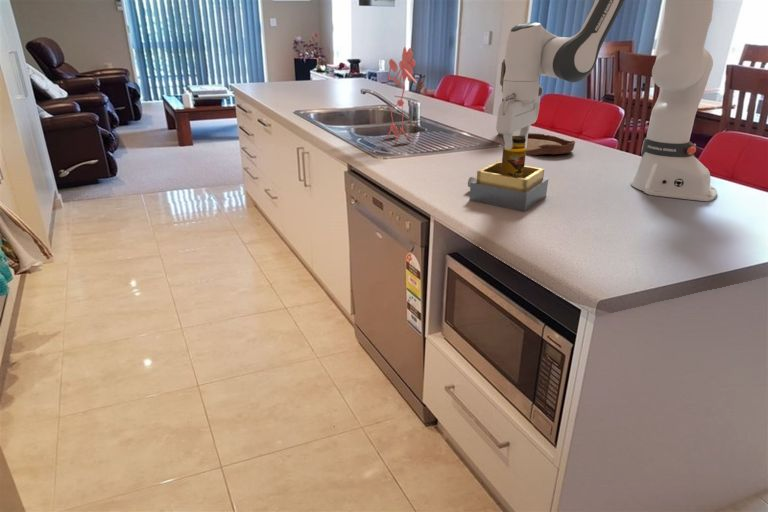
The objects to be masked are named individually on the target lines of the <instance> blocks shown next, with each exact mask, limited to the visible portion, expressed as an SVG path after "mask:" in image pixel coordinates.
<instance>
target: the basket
mask: <svg viewBox="0 0 768 512" xmlns="http://www.w3.org/2000/svg"><path fill="white" fill-rule="evenodd" d="M575 144H576V141H575V140H567V139H564V138H560V137H557V136H555V135H549V134H544V133H537V132H536V133H535V132H534V133H533V132H532V133H531V132H530V133H529V132H528V139H527V148H526V155H528V156H539V155H560V154H562V155H563V154H569V153H571V152H572V151H573V150H574V148H575Z"/></svg>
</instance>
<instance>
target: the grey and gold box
mask: <svg viewBox="0 0 768 512" xmlns="http://www.w3.org/2000/svg"><path fill="white" fill-rule="evenodd" d="M501 166H502V161H498V160H497V161H495V162H492V163H491V164H489V165H487V166H485V167H483V168H481V169H479V170H477V172H476V177H474V176H469V178H468V180H467V187H468V188H469V198H468V199H469V201H472V202H477V203H480V204H481V203H482V204H487V205H490V206H495V207H500V208H505V209H510V210H515V211H519V212H527V210H529V209H530V208H532V207H533V206H534V205H536V204H537V203H538V202H540V201H541V200H543V199H544V198H546V197H547V192H548V185H549V178H546V177H544V174H545V168H542V167H535V166H530V165H529V166H528V165H524V173H523V178H519V177H513V176H508V175H502V174H501Z"/></svg>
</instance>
